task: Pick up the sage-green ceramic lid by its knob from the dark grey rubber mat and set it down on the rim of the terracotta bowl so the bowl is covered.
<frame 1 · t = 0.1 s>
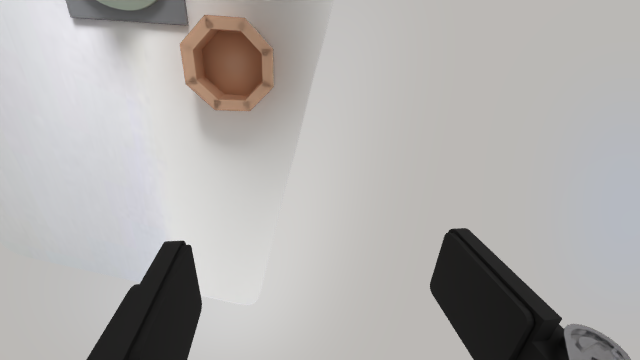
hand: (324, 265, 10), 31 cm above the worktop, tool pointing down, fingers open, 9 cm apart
bowl: (235, 64, 35), on the worktop
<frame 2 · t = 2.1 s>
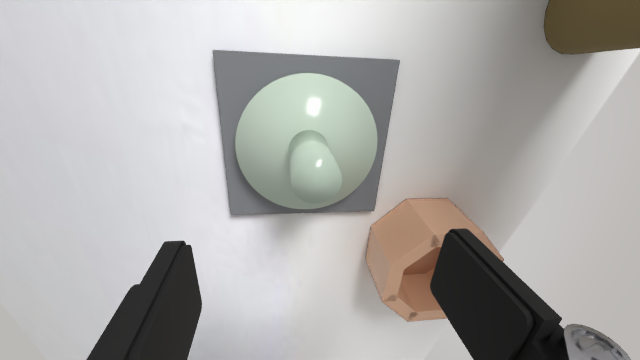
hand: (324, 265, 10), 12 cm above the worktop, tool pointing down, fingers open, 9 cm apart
mat: (306, 142, 21), on the worktop
bowl: (415, 240, 27), on the worktop
lid: (307, 144, 20), point 1 cm above the worktop, touching mat
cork: (583, 6, 19), on the worktop
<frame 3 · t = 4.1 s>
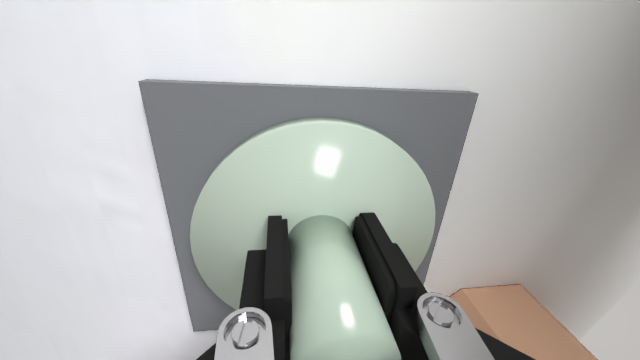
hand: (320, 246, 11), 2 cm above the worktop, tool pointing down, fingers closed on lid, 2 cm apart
mat: (314, 221, 13), on the worktop
bowl: (468, 338, 19), on the worktop
lid: (316, 229, 12), point 1 cm above the worktop, touching gripper, mat
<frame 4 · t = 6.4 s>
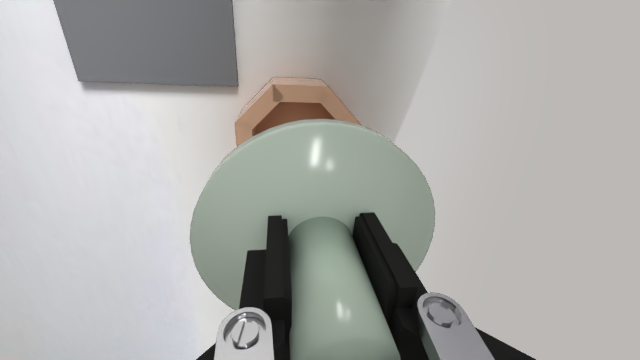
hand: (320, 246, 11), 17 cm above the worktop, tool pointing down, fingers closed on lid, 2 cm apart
bowl: (295, 131, 26), on the worktop
lid: (316, 230, 12), point 16 cm above the worktop, touching gripper
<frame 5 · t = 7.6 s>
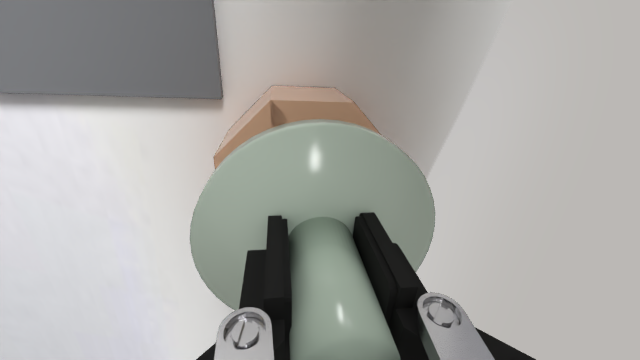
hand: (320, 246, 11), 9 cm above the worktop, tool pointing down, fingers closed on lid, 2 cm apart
bowl: (302, 157, 19), on the worktop
lid: (316, 230, 12), point 8 cm above the worktop, touching gripper
when the fingers open (8 cm above the worktop, at t = 8.6 s): lid drops 1 cm, resting on bowl.
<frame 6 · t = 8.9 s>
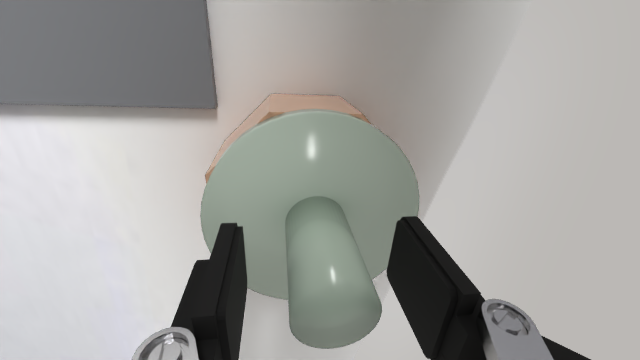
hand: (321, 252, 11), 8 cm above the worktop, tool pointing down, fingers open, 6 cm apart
bowl: (303, 170, 18), on the worktop
lid: (313, 211, 14), point 5 cm above the worktop, touching bowl
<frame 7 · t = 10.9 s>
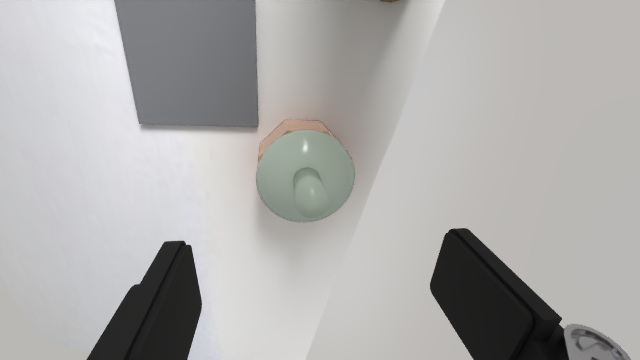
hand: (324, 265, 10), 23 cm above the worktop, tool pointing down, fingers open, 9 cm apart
mat: (195, 64, 27), on the worktop
bowl: (301, 159, 33), on the worktop
lid: (305, 176, 29), point 5 cm above the worktop, touching bowl
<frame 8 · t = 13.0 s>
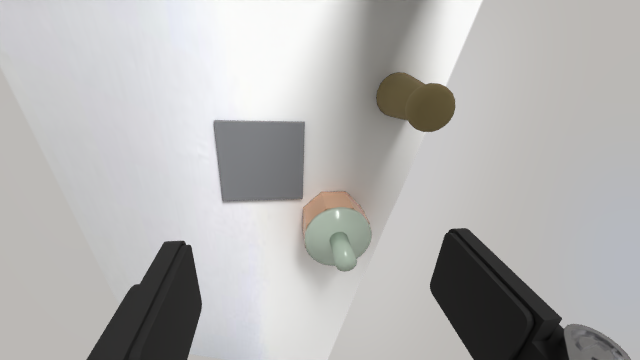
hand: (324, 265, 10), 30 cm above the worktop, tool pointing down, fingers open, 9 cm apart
mat: (262, 161, 40), on the worktop
bowl: (331, 217, 46), on the worktop
lid: (337, 235, 41), point 5 cm above the worktop, touching bowl
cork: (396, 94, 39), on the worktop
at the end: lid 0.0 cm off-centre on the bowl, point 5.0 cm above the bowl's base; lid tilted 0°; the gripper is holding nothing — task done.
